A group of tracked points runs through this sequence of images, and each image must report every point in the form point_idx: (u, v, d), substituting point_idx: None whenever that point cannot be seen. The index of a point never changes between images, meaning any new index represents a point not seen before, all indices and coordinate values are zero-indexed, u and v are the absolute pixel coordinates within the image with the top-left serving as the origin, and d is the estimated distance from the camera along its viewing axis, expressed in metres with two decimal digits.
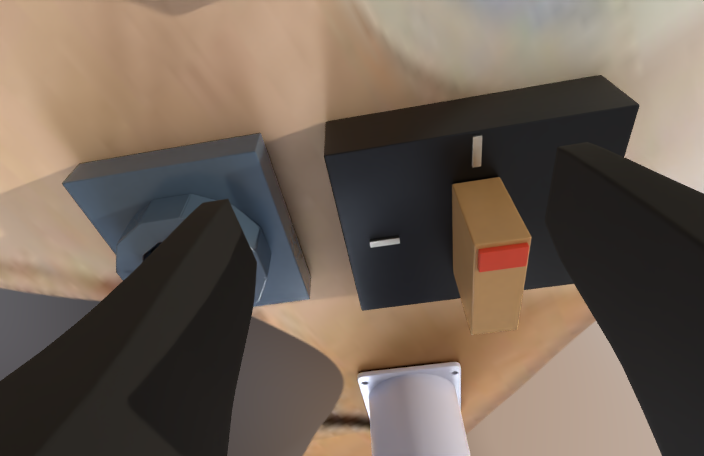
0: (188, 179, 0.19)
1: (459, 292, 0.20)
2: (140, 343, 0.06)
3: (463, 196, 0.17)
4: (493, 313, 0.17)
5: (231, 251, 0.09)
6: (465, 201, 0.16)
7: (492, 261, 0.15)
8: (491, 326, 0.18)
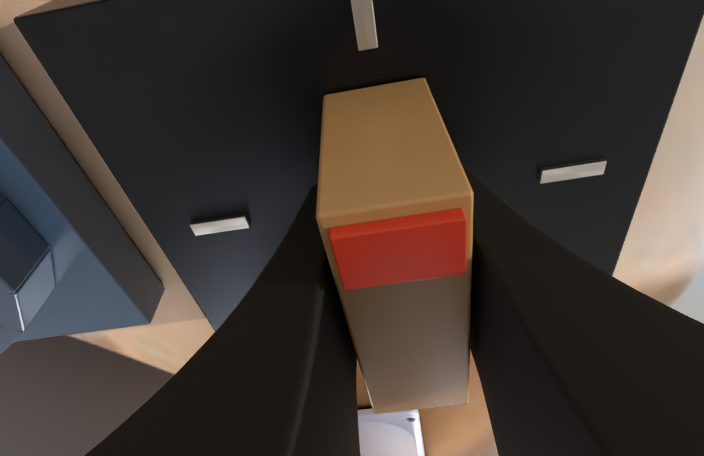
0: None
1: None
2: (318, 320, 0.05)
3: (334, 114, 0.07)
4: (410, 376, 0.08)
5: None
6: (336, 122, 0.07)
7: (371, 261, 0.05)
8: (412, 399, 0.08)
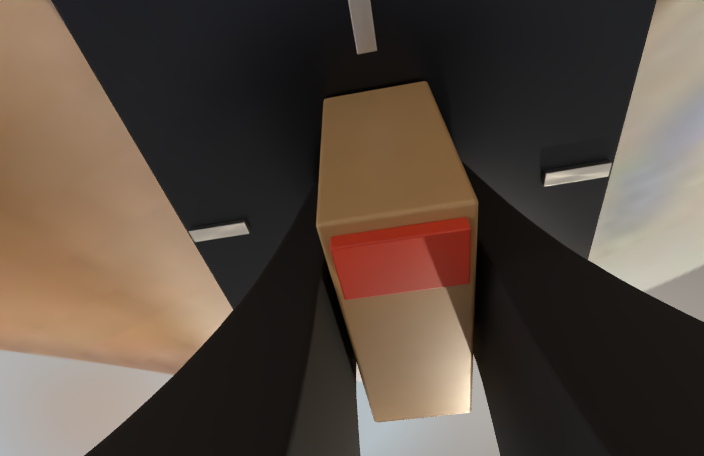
0: None
1: None
2: (318, 320, 0.05)
3: (335, 119, 0.07)
4: (412, 385, 0.08)
5: None
6: (336, 127, 0.07)
7: (372, 271, 0.05)
8: (413, 408, 0.08)
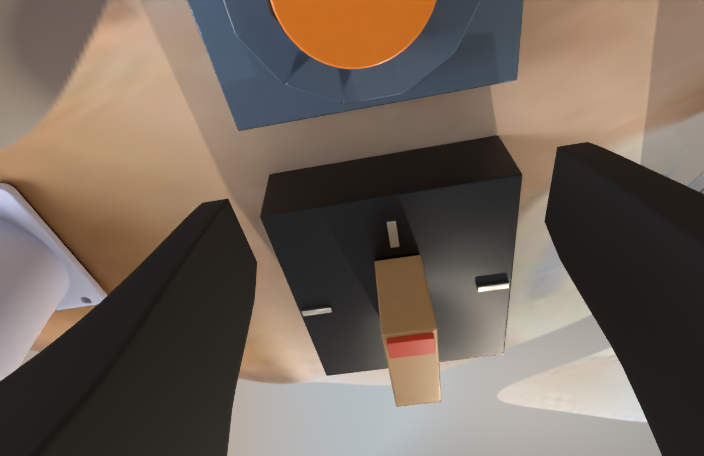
0: None
1: None
2: (140, 343, 0.06)
3: (381, 277, 0.17)
4: (414, 389, 0.17)
5: (231, 251, 0.09)
6: (383, 282, 0.17)
7: (400, 350, 0.15)
8: (414, 399, 0.18)
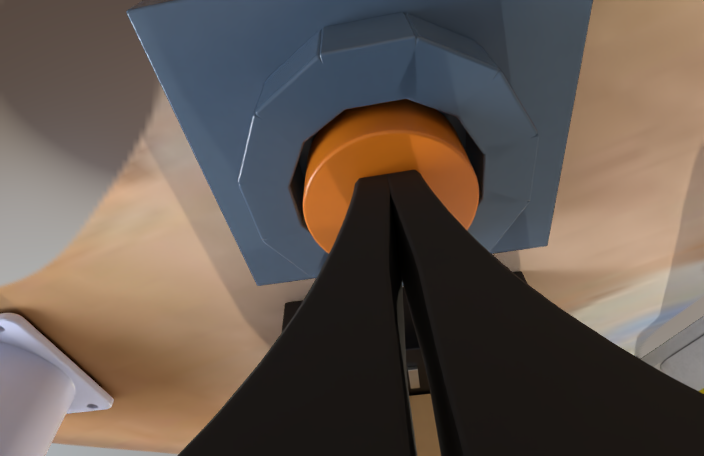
0: None
1: None
2: (394, 311, 0.05)
3: None
4: None
5: None
6: None
7: None
8: None
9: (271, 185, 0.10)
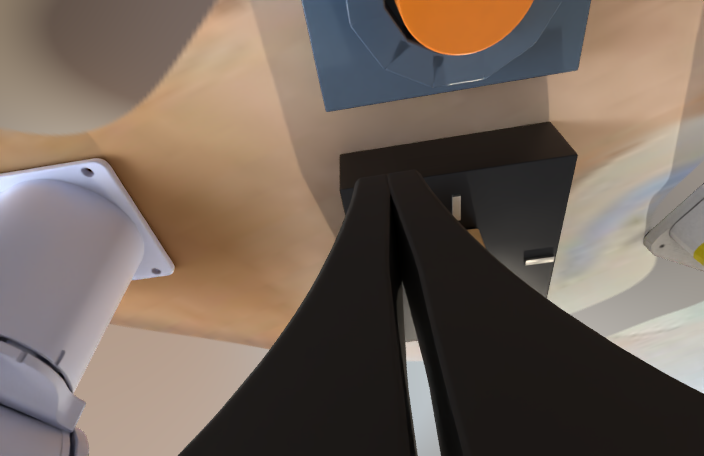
0: None
1: None
2: (394, 311, 0.05)
3: None
4: None
5: None
6: None
7: None
8: None
9: None
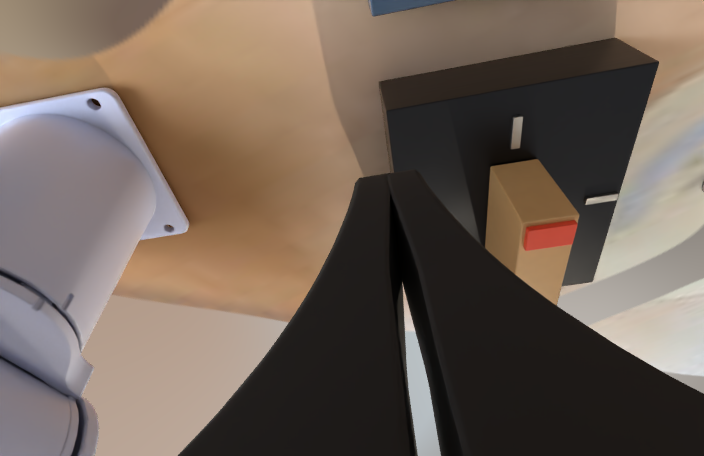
0: None
1: None
2: (394, 310, 0.05)
3: (503, 178, 0.17)
4: None
5: None
6: (506, 182, 0.16)
7: (539, 239, 0.15)
8: None
9: None
